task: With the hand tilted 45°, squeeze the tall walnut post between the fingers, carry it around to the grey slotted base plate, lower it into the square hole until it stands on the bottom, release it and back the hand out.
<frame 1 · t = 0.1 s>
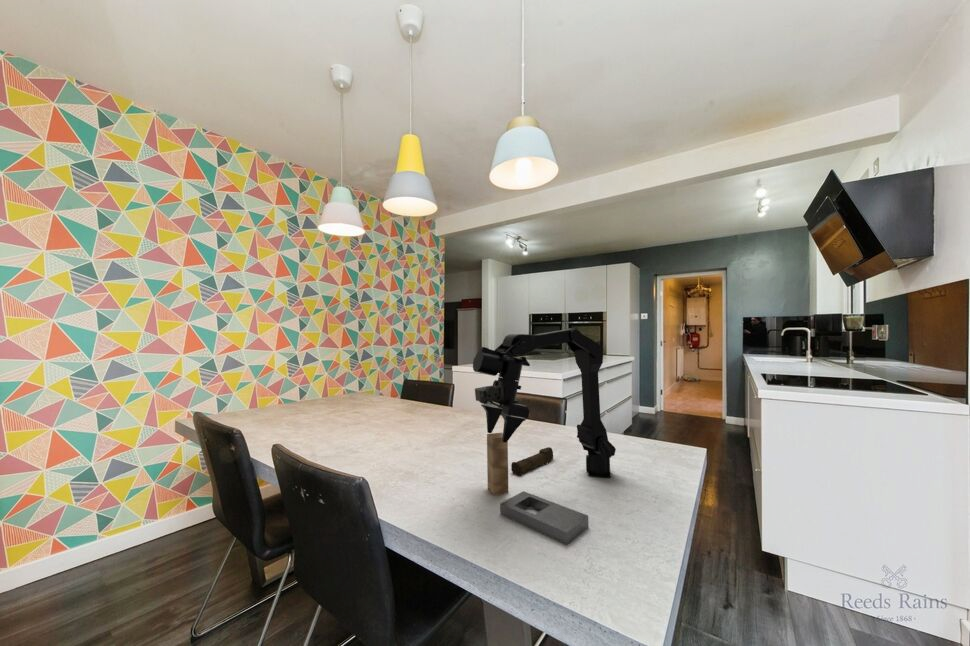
hand: (496, 437, 94), 15 cm above the table, tool pointing down, fingers open, 9 cm apart
grey slotted base plate: (532, 515, 83), on the table
walnut post: (497, 490, 97), on the table
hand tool: (533, 467, 114), on the table
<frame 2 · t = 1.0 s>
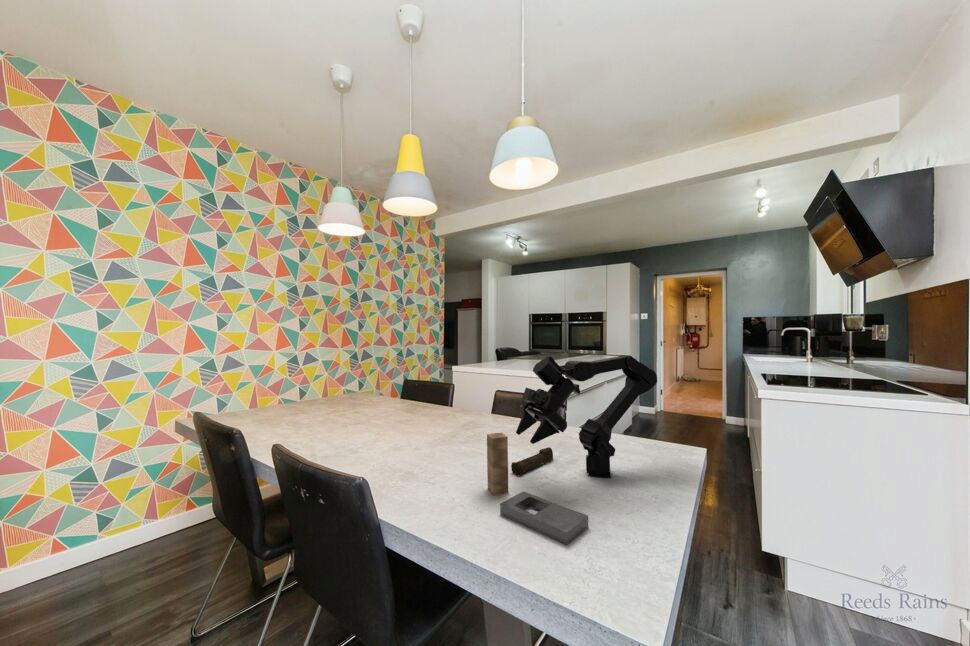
hand: (523, 438, 100), 13 cm above the table, tool tilted 45°, fingers open, 9 cm apart
nothing on the table moved.
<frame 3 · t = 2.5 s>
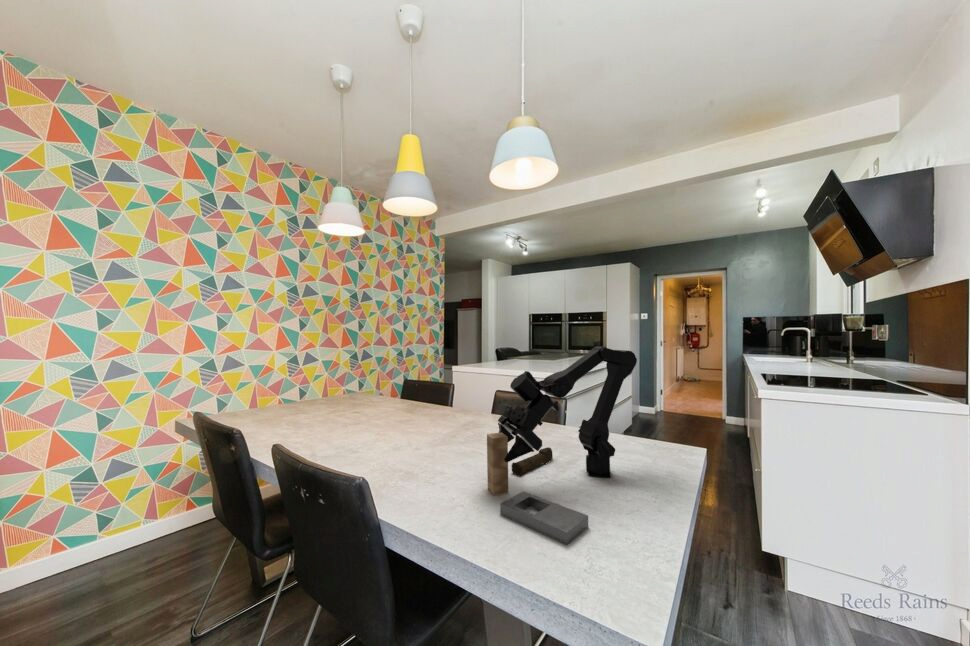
hand: (499, 455, 97), 9 cm above the table, tool tilted 45°, fingers open, 9 cm apart
nothing on the table moved.
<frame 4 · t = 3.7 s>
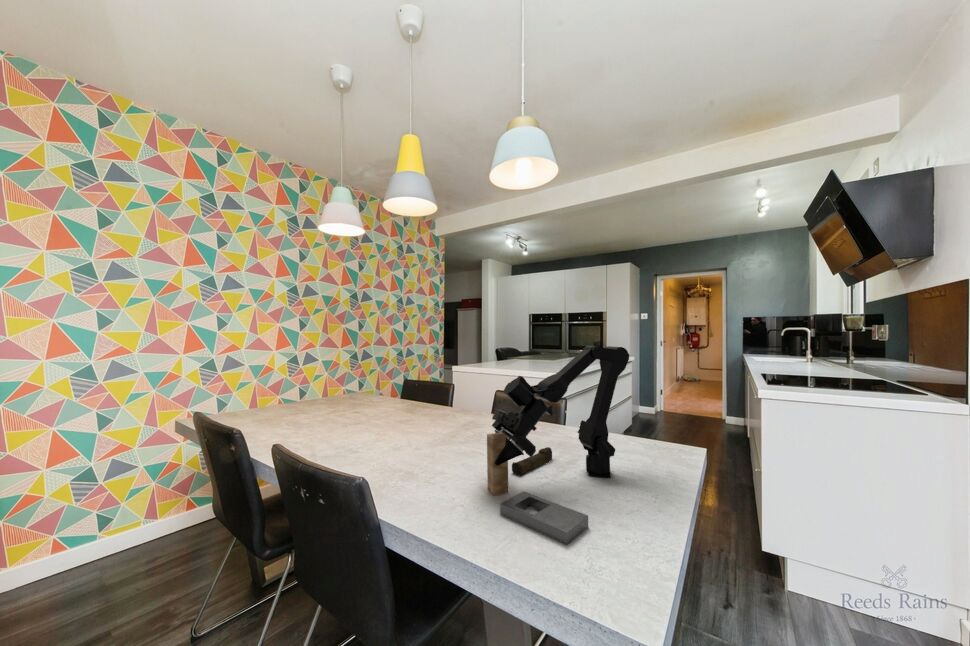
hand: (492, 461, 96), 8 cm above the table, tool tilted 45°, fingers closed on walnut post, 4 cm apart
walnut post: (497, 490, 97), on the table, touching gripper
everything else where it was.
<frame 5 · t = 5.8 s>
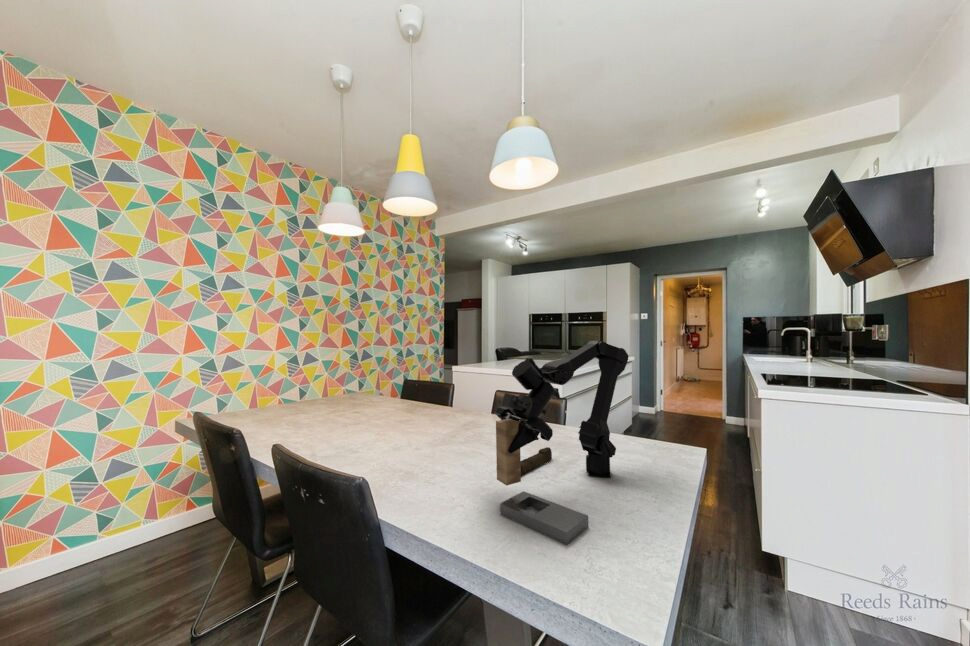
hand: (503, 449, 90), 13 cm above the table, tool tilted 45°, fingers closed on walnut post, 4 cm apart
walnut post: (508, 480, 90), point 5 cm above the table, touching gripper
everything else where it was.
when the fingers open (9 cm above the table, at t = 8.0 s): walnut post stays where it is, resting in grey slotted base plate.
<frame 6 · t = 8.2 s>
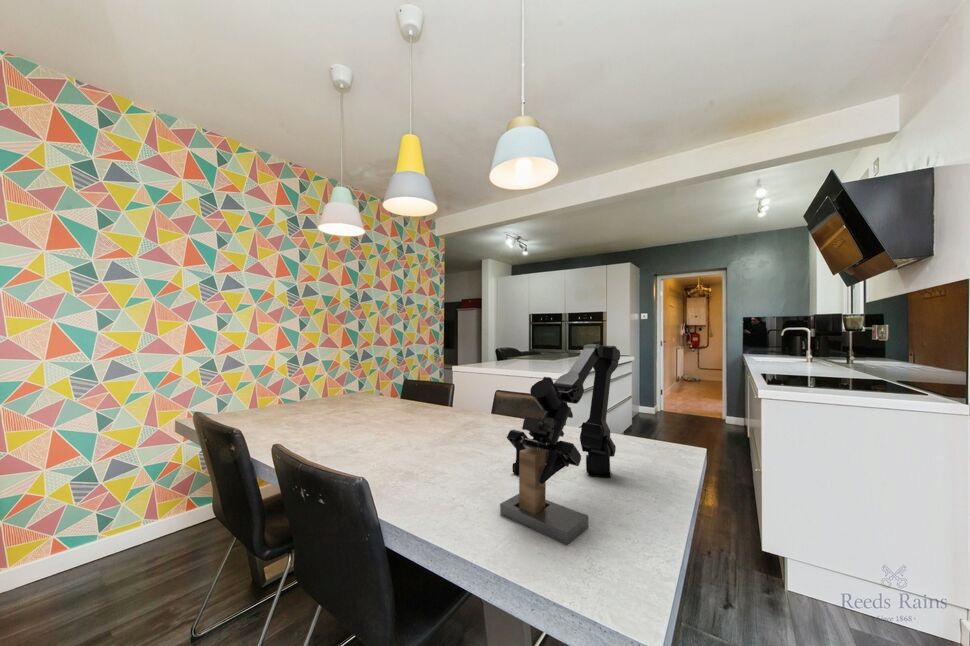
hand: (527, 478, 82), 9 cm above the table, tool tilted 45°, fingers open, 7 cm apart
walnut post: (532, 515, 83), resting in grey slotted base plate
everything else where it was.
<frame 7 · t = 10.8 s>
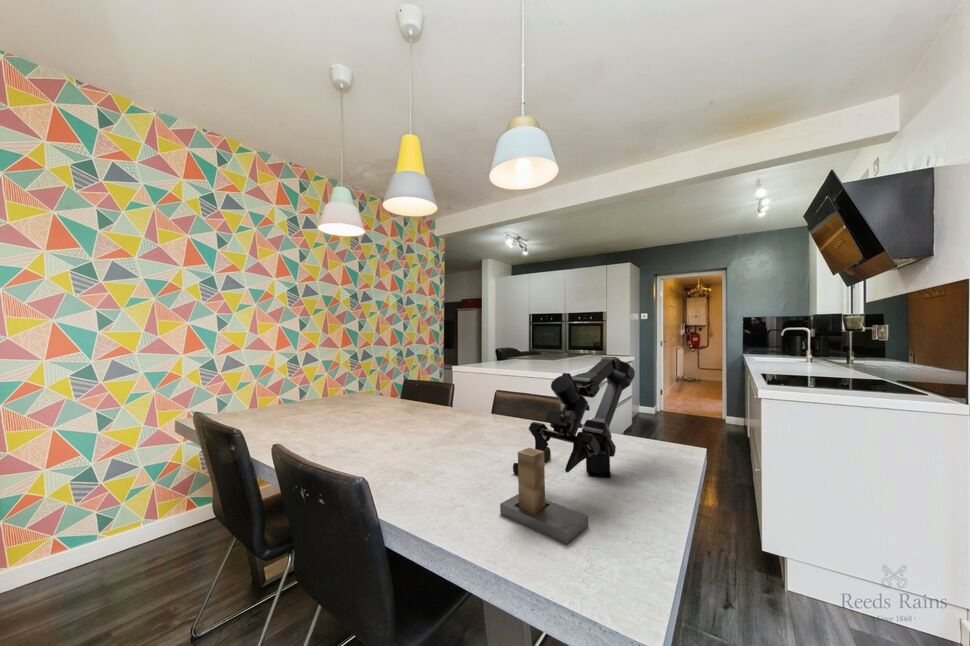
hand: (550, 466, 89), 9 cm above the table, tool tilted 45°, fingers open, 9 cm apart
nothing on the table moved.
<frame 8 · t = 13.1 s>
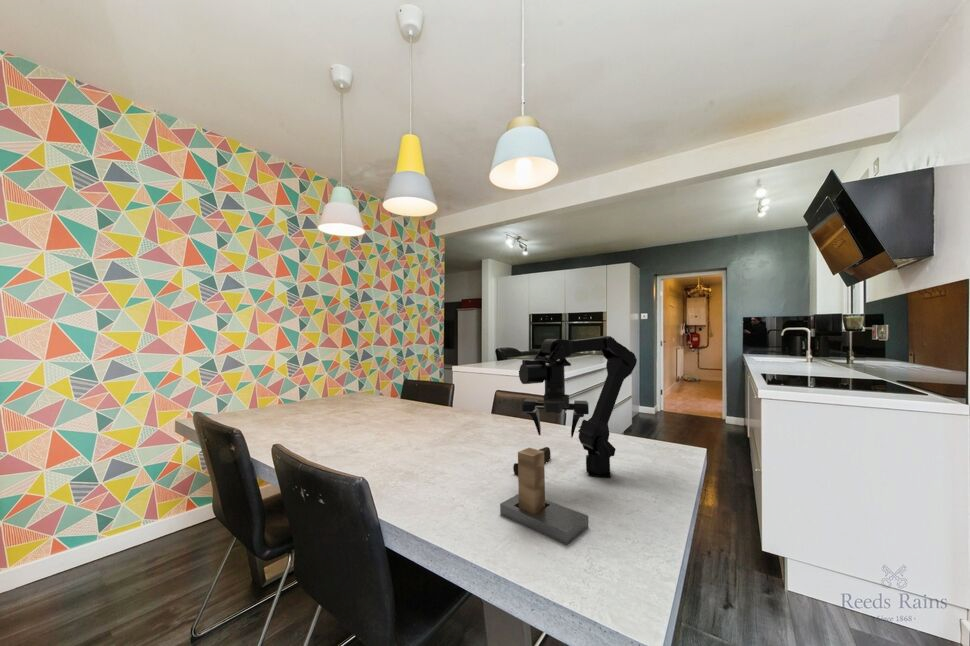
hand: (555, 436, 103), 13 cm above the table, tool pointing down, fingers open, 9 cm apart
nothing on the table moved.
at the end: walnut post 0.1 cm off-centre on the grey slotted base plate, point 0.0 cm above the grey slotted base plate's base; walnut post tilted 0°; the gripper is holding nothing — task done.
